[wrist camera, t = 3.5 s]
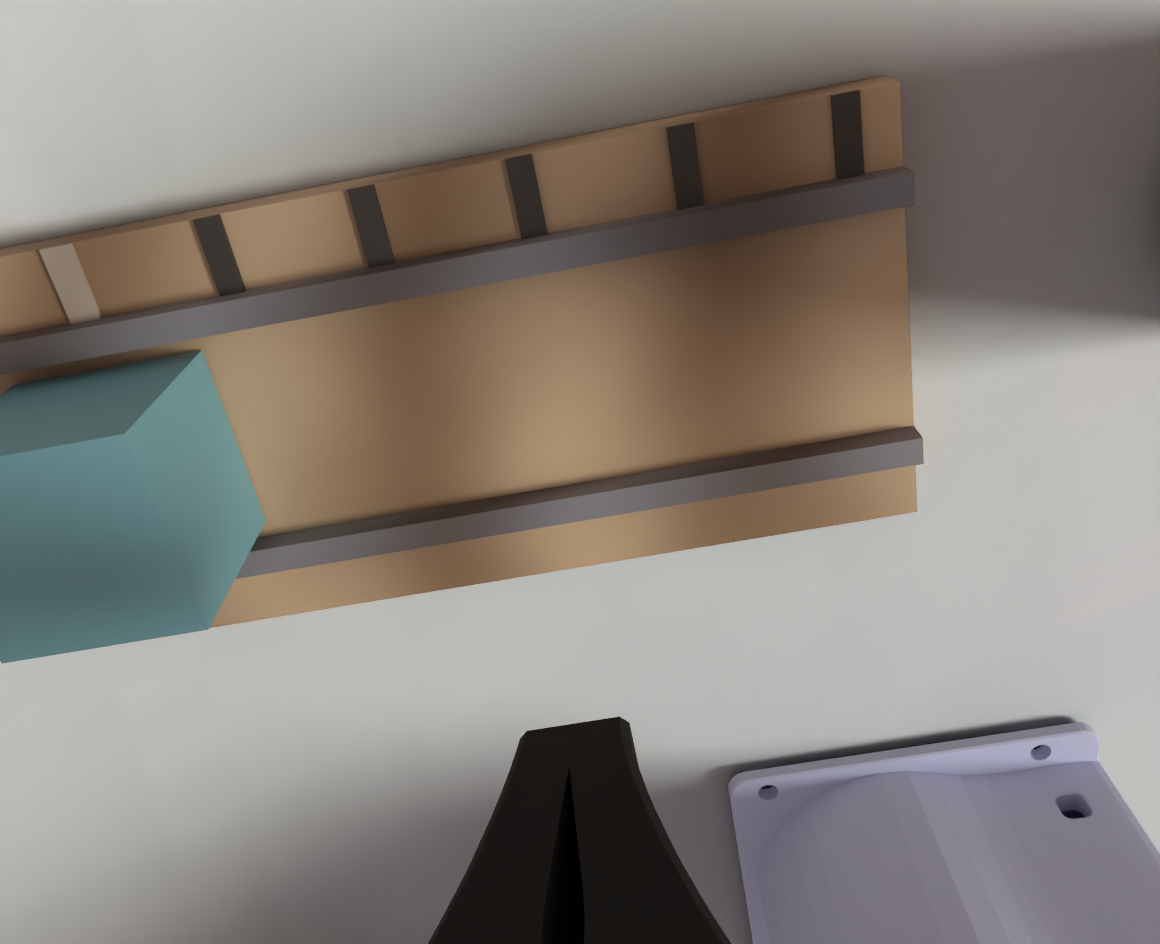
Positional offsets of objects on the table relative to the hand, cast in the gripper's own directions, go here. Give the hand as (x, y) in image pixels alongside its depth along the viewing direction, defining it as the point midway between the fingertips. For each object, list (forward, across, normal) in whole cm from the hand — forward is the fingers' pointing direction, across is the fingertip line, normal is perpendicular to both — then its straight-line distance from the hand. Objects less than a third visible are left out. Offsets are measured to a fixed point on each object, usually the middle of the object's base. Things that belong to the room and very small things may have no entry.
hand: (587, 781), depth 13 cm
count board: (+10, +2, -2) cm, 11 cm away
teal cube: (+9, +9, -2) cm, 13 cm away
